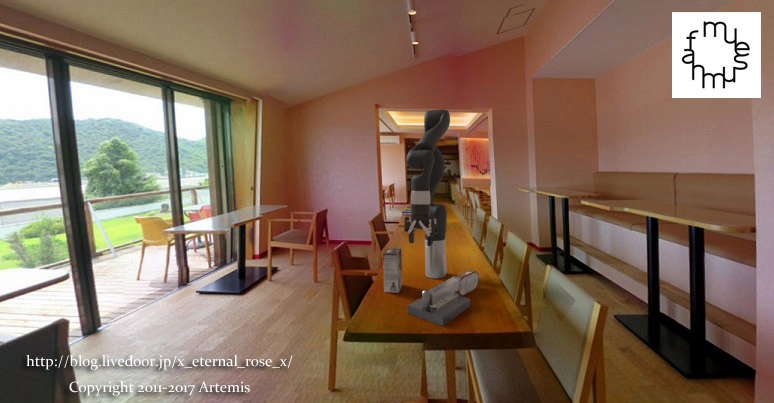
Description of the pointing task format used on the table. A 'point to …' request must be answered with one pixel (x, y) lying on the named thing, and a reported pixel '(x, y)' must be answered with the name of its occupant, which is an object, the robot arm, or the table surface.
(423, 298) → the plate
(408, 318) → the table surface
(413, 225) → the robot arm
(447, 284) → the swing bar
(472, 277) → the tin
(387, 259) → the coffee box
